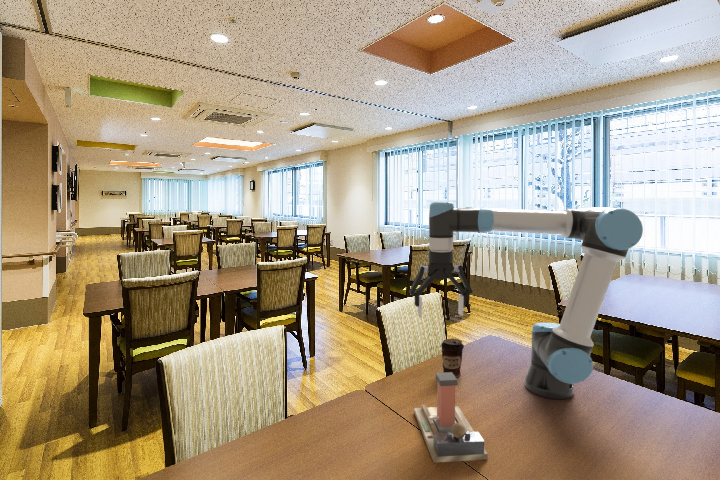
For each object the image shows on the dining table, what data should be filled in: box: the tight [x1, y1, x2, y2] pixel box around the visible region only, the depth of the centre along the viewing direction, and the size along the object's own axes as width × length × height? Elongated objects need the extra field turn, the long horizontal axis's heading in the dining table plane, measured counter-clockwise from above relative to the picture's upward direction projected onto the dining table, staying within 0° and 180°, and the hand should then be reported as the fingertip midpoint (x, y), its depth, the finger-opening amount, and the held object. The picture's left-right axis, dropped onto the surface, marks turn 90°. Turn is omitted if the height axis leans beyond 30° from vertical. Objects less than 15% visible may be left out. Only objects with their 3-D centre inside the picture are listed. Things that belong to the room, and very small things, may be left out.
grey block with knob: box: [433, 431, 485, 457], centre depth 98 cm, size 12×4×5 cm, turn 94°
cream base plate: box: [413, 403, 489, 463], centre depth 107 cm, size 14×23×3 cm, turn 4°
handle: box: [429, 372, 458, 433], centre depth 108 cm, size 8×7×15 cm
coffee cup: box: [440, 338, 465, 378], centre depth 144 cm, size 9×8×13 cm
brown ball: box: [451, 423, 466, 438], centre depth 97 cm, size 4×4×4 cm
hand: (440, 315), depth 123 cm, fingers open, 13 cm apart
